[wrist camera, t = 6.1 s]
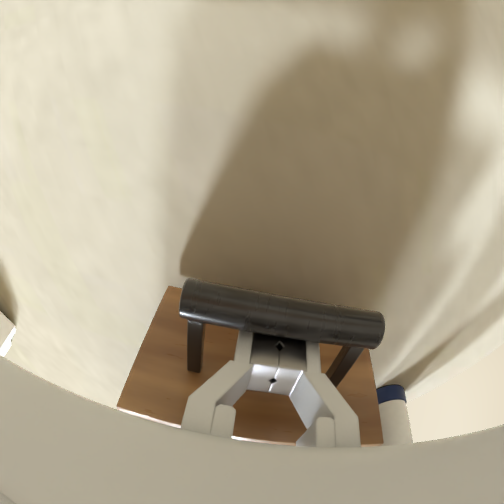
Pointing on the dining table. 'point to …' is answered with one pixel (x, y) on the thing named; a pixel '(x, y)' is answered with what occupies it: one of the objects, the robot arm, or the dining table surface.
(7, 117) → the dining table surface
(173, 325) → the drawer
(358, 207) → the dining table surface
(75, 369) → the dining table surface
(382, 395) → the tube
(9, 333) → the white cradle stand
